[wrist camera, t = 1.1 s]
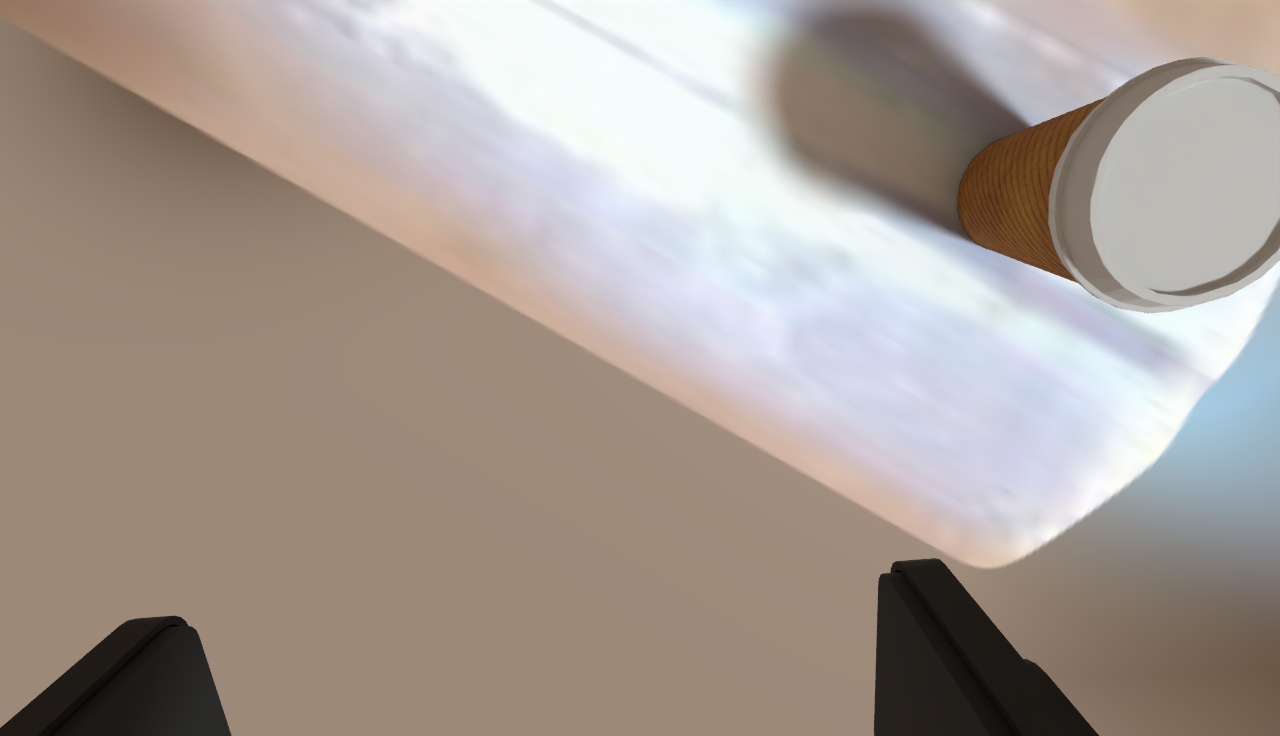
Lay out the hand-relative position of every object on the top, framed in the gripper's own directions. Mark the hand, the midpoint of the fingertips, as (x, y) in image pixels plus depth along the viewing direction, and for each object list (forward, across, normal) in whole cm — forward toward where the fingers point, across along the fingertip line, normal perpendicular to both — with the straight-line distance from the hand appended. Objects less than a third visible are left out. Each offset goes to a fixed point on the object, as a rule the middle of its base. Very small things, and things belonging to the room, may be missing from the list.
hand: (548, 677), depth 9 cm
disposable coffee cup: (+29, -23, -4) cm, 37 cm away
